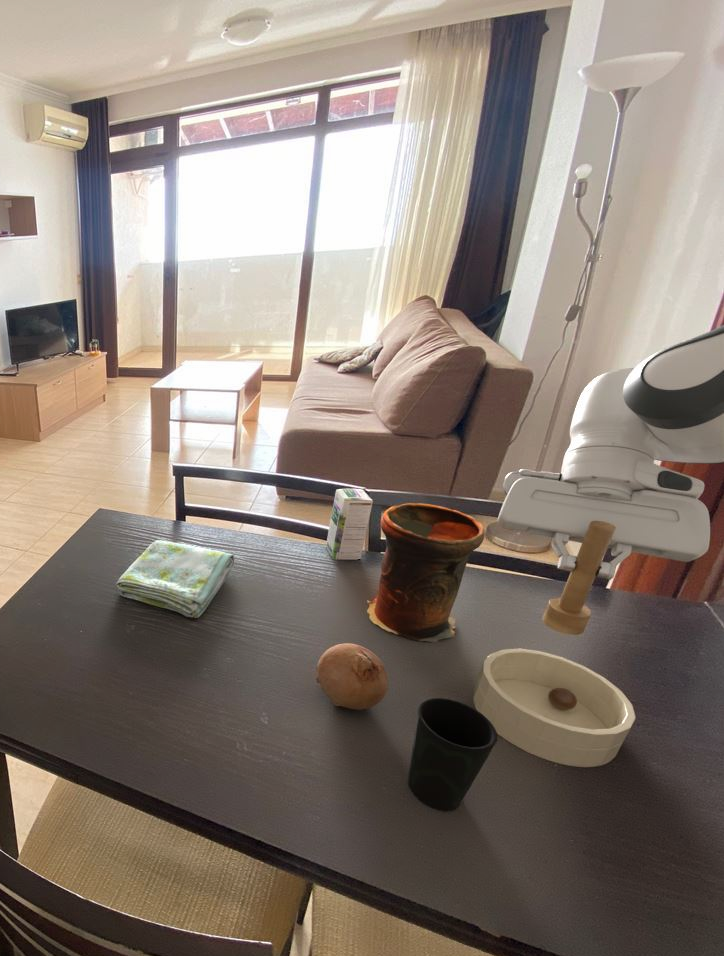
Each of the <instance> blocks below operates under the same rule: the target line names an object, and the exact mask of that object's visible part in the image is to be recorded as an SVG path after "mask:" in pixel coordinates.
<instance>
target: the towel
mask: <svg viewBox="0 0 724 956" xmlns="http://www.w3.org/2000/svg"><path fill="white" fill-rule="evenodd" d="M234 557H235V556H234V554H233V553H229V552H228V553H227V552H225V551H220V550H215V549H210V548H205V547H199V546H194V545H189V544H184V543H179V542H173V541H168V540H167V541H166V540H160V539H157V540H154V542H152V543H150V544H149V545H148V547H147V548H146V549H145V550H144V551H143V552H142V554H140V555H139V557H137V558H136V559H135V560H134V561H133V562H132V564H131V565H130V566H129V567H128V568H127V569H126V570H125V571H124V573H123V574H122V575H121V576H120V577H119V578H118V579H117V581H116V583H115V587H117V593H118V594H119V595H120V596H122V597H123V598H127V599H131V600H136V601H138V602H142V603H144V604H149V605H151V606H155V607H158V608H162V609H167V610H169V611H173V612H177V613H179V614H181V615H182V616H184V617H186V618H194V619H198V618H200V617H201V615H203V614H204V612H205V611H206V610H207V608H208V607H209V605H210V604H211V602H212V600H213V599H214V597H215V596H216V595H217V593H218V591H219V590H220V589H221V588H222V585H223V584H224V583H225V582H226V580H227V579H228V577H229V575H230V573H231V571H232V568H233V566H234V562H235V558H234Z"/></svg>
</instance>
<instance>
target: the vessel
mask: <svg viewBox="0 0 724 956" xmlns="http://www.w3.org/2000/svg"><path fill="white" fill-rule="evenodd" d="M380 528H381V531H382V533H383V535H384V536H385V544H386V549H385V551H384V553H383V557H382V562H381V568H380V569H381V570H380V576H379V582H378V590H377V596H376V597H374V598H373V600H372V601H370V600H369V599H367V600H366V602H367V604H368V609H367V610H366V613H367V614H368V615H369V620H370V621H371V622H372V623H373V624H374V625H377V626H379V627H380V628H381V629H383V630H385V631H387V632H389V633H393V634H395V635H400V636H402V637H404V636H405V637H406V638H407V639H409V640H415V641H419V642H424V641H425V642H428V643H429V642H433V643H437V642H438V641H440V640H444V639H445V640H446V639H450V638H453V637H454V634H455V633H456V631H454V630H453V629H455V628H456V629H457V627H456V625H455V623H456V619H455V618H453V617H452V616H451V612H452V609H453V606H454V604H455V602H456V599H457V598H458V594H459V590H460V587H461V584H462V580H463V576H464V573H465V570H466V567H467V564H468V561H469V557H470V554H471V553H473V552H474V551H475V550H476V549H478V548H480V547H481V545H482V544H483V542H484V540H485V532H486V531H485V529H484V527H483V525H482V524H481V522H480V521H479V520H478V519H477V518H474V516H472V515H468V514H467V513H464V512H461V511H458V510H455V509H452V508H449V507H445V506H441V505H435V504H429V503H421V502H419V503H413V502H409V503H403V504H399V505H393V506H391V507H389V508H388V509H386V510H384V513H383V515H382V516H381V518H380Z"/></svg>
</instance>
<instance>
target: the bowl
mask: <svg viewBox="0 0 724 956" xmlns="http://www.w3.org/2000/svg"><path fill="white" fill-rule="evenodd" d="M554 688H564V689H567V690H569V691H571V692H572V693H573V694H574V695H575V697H576V699H577V704H576V706H575V707H574V708H573V709H571V710H561V709H558V708H556V707H555V706H553V705H552V704H551V703H550V701H549V699H548V694H549V692H550V691H551V690H552V689H554ZM472 699H473V700H472V701H473V704H474V707H475V709H476V710H477V711H478V712H480V713H481V714H483V715H484V716H485V717H486V718H487V719H488V720H489V721H490V722H491V723H492V725H493V726H494V728H495V730H496V732H497V735H499V736H500V737H501V738H503V739H504V740H506V741H507V742H509V743H510V744H512V745H513V746H515V747H516V748H519V749H521V750H523V751H525V752H526V753H528V754H531V755H533V756H536V757H537V758H540V759H543V760H545V761H549V762H551V763H556V764H559V765H564V766H570V767H577V768H596V767H600V766H604V765H607V764H608V763H610V762H612V761H613V760H614V759H615V758H616V757H617V755H618V752H619V751H620V748H621V747H622V745H623V744H624V741H626V740H625V739H626V738H627V736H628V735H629V732H630V731H631V729H632V726H633V725H634V722H635V721H636V719H637V717H636V713H635V710H634V706H633V704H632V702H631V701H630V700H629V699H628V698H627V696H626V695H625V694H624V692H623V691H622V690H621V689H620V688H618V687H617V686H616V685H614V684H613V683H612V682H611V681H609V680H608V679H607V678H606V677H604V676H602V675H600V674H599V673H597V672H596V671H594V670H592V669H590V668H588V667H586V666H585V665H582V664H580V663H578V662H576V661H573V660H570V659H568V658H565V657H562V656H559V655H556V654H553V653H548V652H544V651H542V650H533V649H525V648H508V649H507V648H506V649H501V650H497V651H495V652H491V653H490V654H489V655H487V657H486V659H484V661H483V663H482V665H481V668H480V672H479V675H478V677H477V679H476V683H475V686H474V691H473V696H472Z"/></svg>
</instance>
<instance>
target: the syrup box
mask: <svg viewBox="0 0 724 956" xmlns="http://www.w3.org/2000/svg"><path fill="white" fill-rule="evenodd" d="M373 502H374V499H372V498H371V497H370V496H369V494H368V493H367V492H366V491H365V490H364V489H362V488H361V489H360V488H338V489H336V490H335V493H334V500H333V505H332V511H331V514H330V520H329V525H328V531H327V538H326V544H325V548H326V547H327V548H326V549H327V551H328V553H329V554H330V557H331V558H332V560H333V561H335V560H336V561H337V560H338V561H339V560H340V561H341V560H342V561H345V560H346V561H353V560H356V561H357V560H358V559H360V560H361V559H362V555H363V549H364V545H365V540H366V536H367V531H368V527H369V526H368V525H369V522H370V517H371V512H372V507H373ZM356 551H360V552H356ZM358 561H359V560H358Z"/></svg>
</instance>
